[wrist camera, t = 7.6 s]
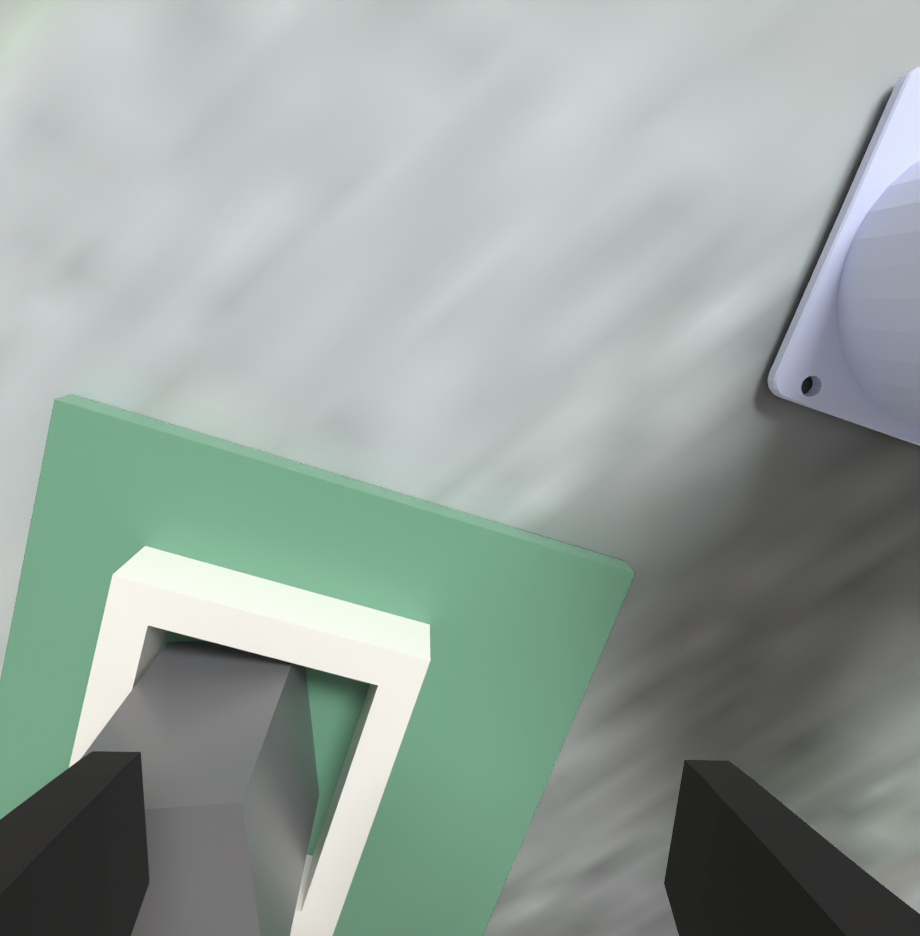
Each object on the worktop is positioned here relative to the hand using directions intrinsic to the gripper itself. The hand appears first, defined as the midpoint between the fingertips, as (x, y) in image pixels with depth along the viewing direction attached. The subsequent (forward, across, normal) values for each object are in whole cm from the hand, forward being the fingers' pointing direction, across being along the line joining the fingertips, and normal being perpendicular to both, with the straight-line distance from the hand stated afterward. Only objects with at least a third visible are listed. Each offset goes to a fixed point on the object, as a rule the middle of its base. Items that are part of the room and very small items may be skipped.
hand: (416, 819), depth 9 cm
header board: (+9, +4, +5) cm, 11 cm away
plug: (+9, +4, +5) cm, 11 cm away
